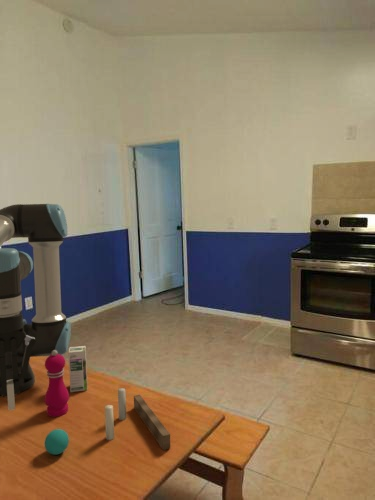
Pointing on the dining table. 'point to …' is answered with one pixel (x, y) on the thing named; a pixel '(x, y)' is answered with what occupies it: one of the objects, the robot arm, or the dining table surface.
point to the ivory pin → (109, 422)
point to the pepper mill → (56, 386)
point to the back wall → (152, 422)
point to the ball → (56, 441)
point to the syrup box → (77, 368)
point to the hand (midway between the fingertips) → (11, 407)
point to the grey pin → (122, 403)
